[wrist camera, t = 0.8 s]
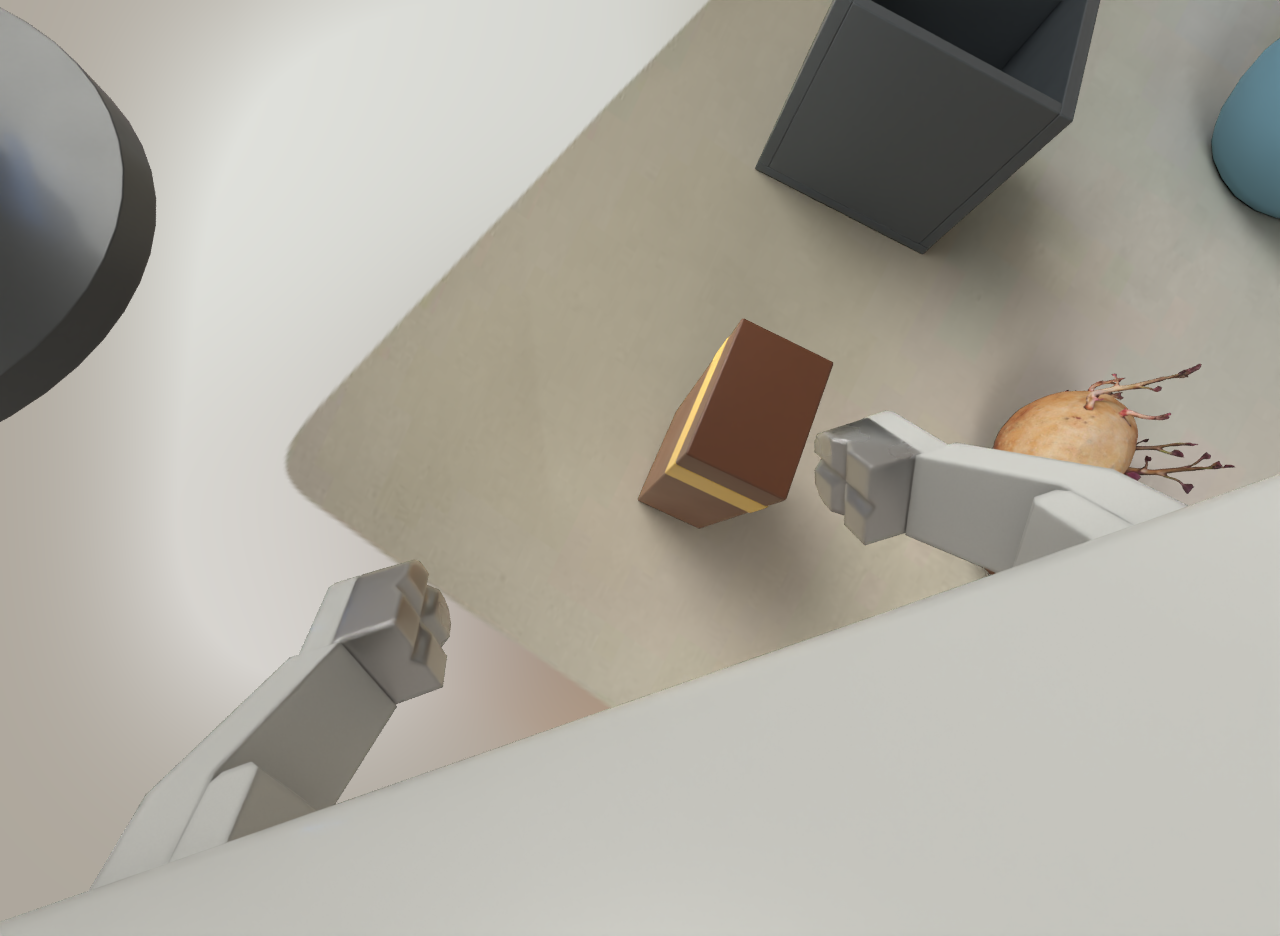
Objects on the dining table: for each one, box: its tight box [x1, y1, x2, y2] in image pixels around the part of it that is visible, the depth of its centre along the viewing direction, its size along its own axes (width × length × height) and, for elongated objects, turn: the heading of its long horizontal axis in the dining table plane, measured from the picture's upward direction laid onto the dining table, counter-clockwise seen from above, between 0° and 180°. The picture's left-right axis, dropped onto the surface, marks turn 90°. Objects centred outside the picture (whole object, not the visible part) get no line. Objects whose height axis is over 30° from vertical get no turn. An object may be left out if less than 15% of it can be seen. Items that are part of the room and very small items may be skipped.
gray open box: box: [755, 0, 1100, 254], centre depth 31 cm, size 14×14×11 cm
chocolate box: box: [638, 319, 833, 528], centre depth 23 cm, size 4×6×11 cm
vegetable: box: [984, 364, 1234, 575], centre depth 28 cm, size 16×11×10 cm
